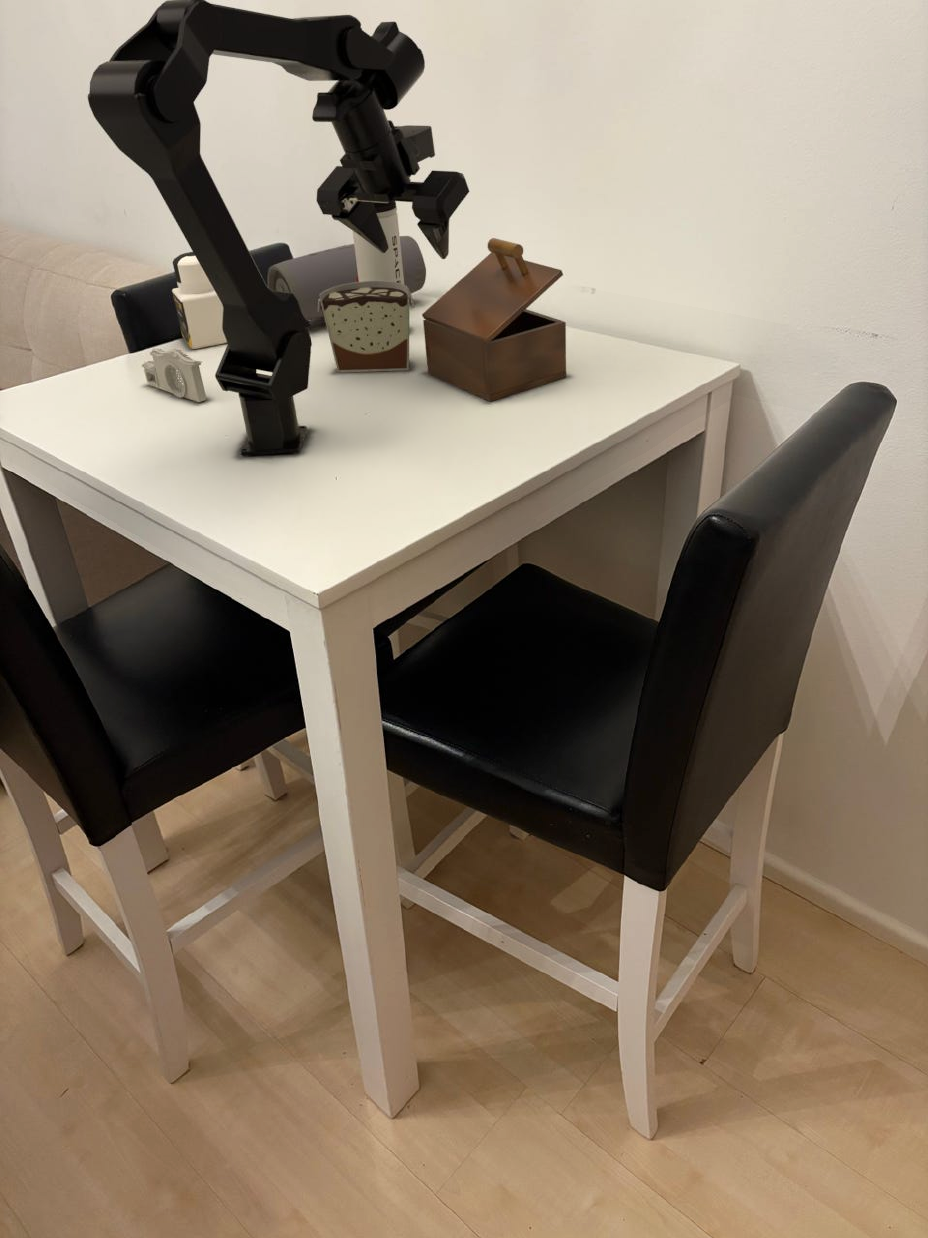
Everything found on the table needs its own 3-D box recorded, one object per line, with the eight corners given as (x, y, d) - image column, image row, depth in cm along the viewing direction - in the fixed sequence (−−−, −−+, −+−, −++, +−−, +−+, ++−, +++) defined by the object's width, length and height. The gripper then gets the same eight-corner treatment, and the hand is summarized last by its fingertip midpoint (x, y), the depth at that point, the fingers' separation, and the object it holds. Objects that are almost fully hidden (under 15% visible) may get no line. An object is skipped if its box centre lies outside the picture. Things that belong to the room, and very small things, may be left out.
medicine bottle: (182, 337, 143) (163, 253, 137) (229, 328, 146) (212, 245, 139) (192, 350, 138) (172, 263, 131) (241, 340, 140) (224, 254, 134)
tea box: (500, 351, 129) (498, 299, 125) (566, 377, 119) (566, 321, 115) (427, 373, 123) (422, 319, 120) (490, 401, 114) (487, 344, 110)
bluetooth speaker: (300, 338, 139) (289, 267, 133) (272, 325, 145) (259, 256, 140) (431, 304, 149) (425, 236, 144) (399, 293, 156) (392, 227, 150)
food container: (426, 354, 130) (419, 277, 124) (420, 369, 125) (412, 290, 119) (336, 356, 131) (325, 281, 126) (326, 372, 126) (315, 294, 121)
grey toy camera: (145, 386, 127) (134, 341, 123) (157, 381, 128) (146, 337, 124) (199, 404, 119) (188, 357, 116) (210, 399, 121) (200, 353, 117)
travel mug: (358, 330, 141) (340, 181, 129) (402, 323, 142) (387, 175, 131) (368, 342, 136) (349, 188, 124) (413, 335, 137) (399, 182, 126)
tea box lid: (494, 255, 122) (479, 224, 118) (563, 274, 112) (549, 241, 109) (423, 318, 120) (407, 289, 117) (488, 343, 110) (471, 311, 107)
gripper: (470, 91, 105) (509, 215, 117) (340, 91, 114) (388, 206, 126) (419, 156, 101) (465, 277, 113) (288, 151, 110) (344, 263, 122)
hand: (415, 253), depth 119 cm, fingers open, 9 cm apart
